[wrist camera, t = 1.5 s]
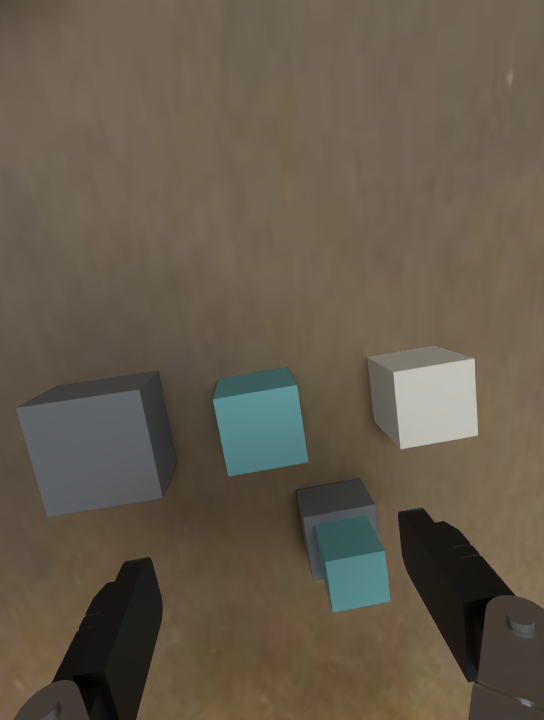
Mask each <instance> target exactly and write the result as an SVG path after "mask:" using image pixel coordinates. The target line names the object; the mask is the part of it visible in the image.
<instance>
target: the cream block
mask: <svg viewBox="0 0 544 720" xmlns="http://www.w3.org/2000/svg"><path fill="white" fill-rule="evenodd" d="M367 361H368V370H369V380H370V389H371V398H372V408H373V417H374V422H375V423H376V424H377V425H378V426H379V427H380V428H381V429H382V430H383V431H384V432H385V433H386V435H387V436H388V437H389V438H390V439H391V440H392V441H393V442H394V443H395V444H396V445H397V446H398V447H399V448H400V449H405V448H411V447H416V446H422V445H427V444H433V443H438V442H444V441H450V440H455V439H461V438H466V437H472V436H477V435H478V427H477V406H476V385H475V365H474V358H471V357H468V356H465V355H462V354H459V353H456V352H452V351H449V350H446V349H443V348H440V347H437V346H429V347H423V348H417V349H411V350H405V351H400V352H394V353H388V354H382V355H376V356H370V357H367Z"/></svg>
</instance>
